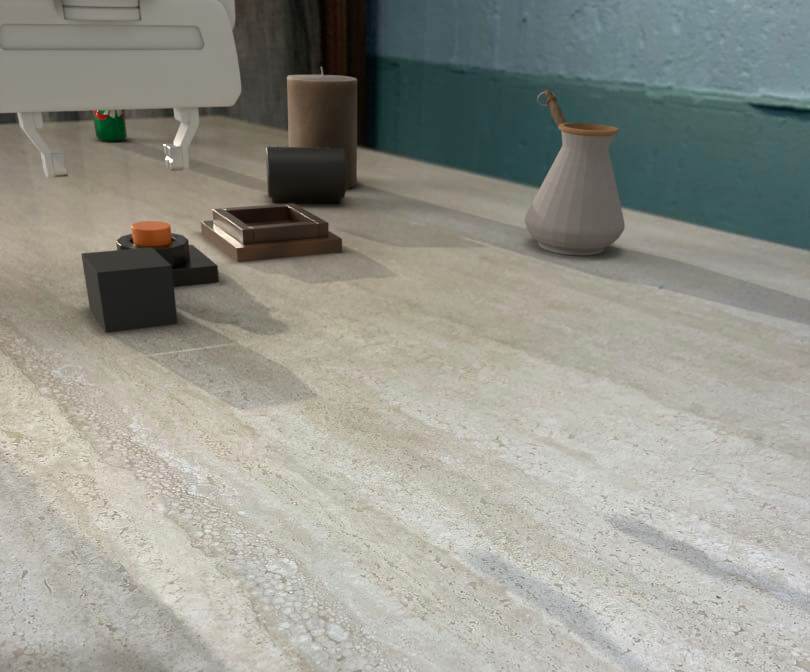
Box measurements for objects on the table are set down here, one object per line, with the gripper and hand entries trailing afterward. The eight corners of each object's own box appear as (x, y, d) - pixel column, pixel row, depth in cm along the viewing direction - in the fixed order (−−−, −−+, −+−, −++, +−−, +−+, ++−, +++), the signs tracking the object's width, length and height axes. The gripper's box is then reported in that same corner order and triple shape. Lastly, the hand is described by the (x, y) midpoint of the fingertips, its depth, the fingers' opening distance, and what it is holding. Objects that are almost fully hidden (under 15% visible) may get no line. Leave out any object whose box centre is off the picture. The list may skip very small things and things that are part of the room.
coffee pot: (636, 260, 98) (663, 113, 90) (538, 260, 96) (558, 110, 88) (572, 215, 115) (590, 89, 107) (489, 215, 113) (501, 86, 105)
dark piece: (114, 294, 80) (108, 255, 78) (95, 270, 85) (89, 234, 84) (219, 283, 84) (216, 246, 82) (194, 261, 90) (191, 226, 88)
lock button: (138, 250, 81) (136, 231, 80) (129, 241, 84) (126, 222, 83) (176, 247, 82) (175, 228, 82) (166, 238, 85) (164, 219, 84)
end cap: (269, 207, 111) (266, 150, 107) (266, 195, 117) (264, 141, 113) (346, 208, 113) (346, 152, 109) (340, 196, 119) (340, 142, 115)
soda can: (119, 137, 151) (110, 58, 144) (132, 141, 148) (123, 61, 141) (91, 138, 148) (80, 58, 141) (104, 143, 145) (93, 61, 138)
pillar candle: (349, 193, 121) (350, 71, 112) (281, 188, 122) (277, 67, 113) (362, 180, 129) (364, 65, 120) (298, 175, 130) (296, 61, 121)
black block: (106, 333, 71) (96, 272, 68) (90, 311, 76) (81, 253, 73) (177, 324, 74) (171, 265, 71) (158, 303, 78) (152, 247, 75)
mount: (237, 262, 90) (235, 233, 88) (201, 234, 99) (199, 207, 97) (342, 252, 95) (342, 224, 93) (299, 226, 104) (298, 200, 102)
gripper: (218, -33, 67) (231, 158, 75) (-73, -45, 59) (-25, 173, 66) (246, -32, 63) (258, 172, 70) (-65, -45, 54) (-14, 189, 62)
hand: (119, 172), depth 68 cm, fingers open, 8 cm apart
